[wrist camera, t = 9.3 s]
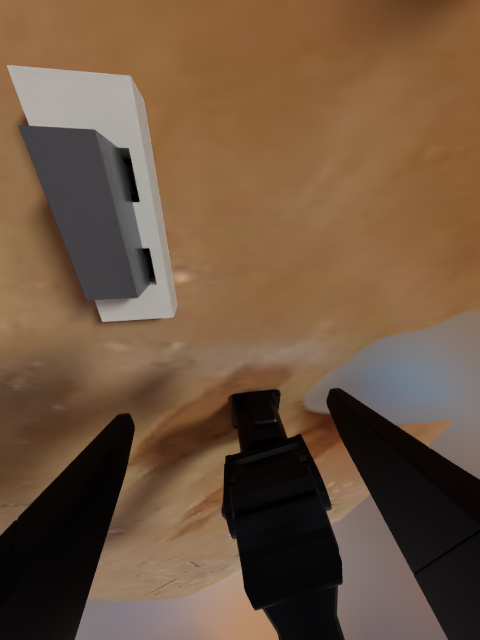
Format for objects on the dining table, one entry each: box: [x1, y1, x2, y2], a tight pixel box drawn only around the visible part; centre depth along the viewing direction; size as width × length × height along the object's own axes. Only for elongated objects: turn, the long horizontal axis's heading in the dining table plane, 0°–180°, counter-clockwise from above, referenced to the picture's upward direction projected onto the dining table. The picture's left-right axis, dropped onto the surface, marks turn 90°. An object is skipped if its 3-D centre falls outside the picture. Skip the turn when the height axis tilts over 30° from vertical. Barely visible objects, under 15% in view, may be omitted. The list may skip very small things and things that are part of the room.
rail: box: [7, 65, 178, 322], centre depth 14 cm, size 14×6×2 cm, turn 0°
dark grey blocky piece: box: [18, 125, 154, 300], centre depth 13 cm, size 8×3×5 cm, turn 0°
